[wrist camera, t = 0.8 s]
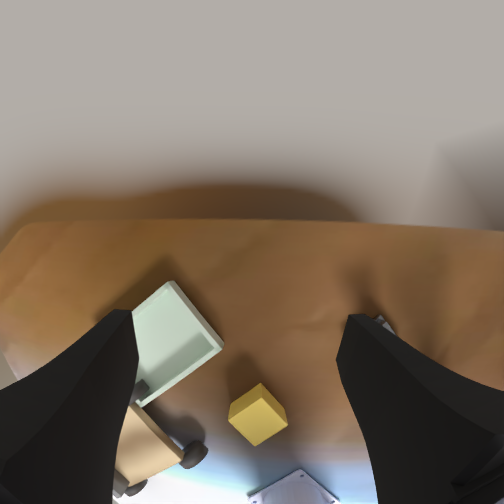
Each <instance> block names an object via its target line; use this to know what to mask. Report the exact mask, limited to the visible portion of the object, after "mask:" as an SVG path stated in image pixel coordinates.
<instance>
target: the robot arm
mask: <svg viewBox="0 0 504 504" xmlns="http://www.w3.org/2000/svg"><path fill="white" fill-rule="evenodd" d="M336 362H337V366H338V370H339V374H340V378H341V382H342V385H343V387H344V390H345V392H346V395H347V397H348V399H349V402H350V404H351V407H352V409H353V411H354V414H355V416H356V419H357V421H358V423H359V426H360V428H361V431H362V433H363V436H364V439H365V442H366V446H367V449H368V453H369V457H370V461H371V465H372V470H373V475H374V480H375V485H376V491H377V498H378V504H504V391H501V390H498V389H494V388H491V387H488V386H485V385H483V384H480V383H478V382H475V381H473V380H470V379H468V378H466V377H463V376H461V375H459V374H457V373H455V372H453V371H451V370H449V369H447V368H446V367H444V366H442V365H440V364H438V363H437V362H435V361H433V360H432V359H430V358H428V357H427V356H425V355H424V354H422V353H420V352H419V351H417V350H416V349H415V348H413V347H412V346H410V345H409V344H407V343H406V342H404V341H403V340H402V339H400V338H399V337H397V336H396V335H395V334H393V333H392V332H390V331H389V330H388V329H386V328H385V327H383V326H382V325H381V324H379V323H378V322H376V321H375V320H373V319H372V318H370V317H369V316H367V315H365V314H351V315H348V319H347V323H346V326H345V330H344V334H343V337H342V341H341V344H340V347H339V351H338V354H337V357H336ZM138 364H139V353H138V347H137V341H136V335H135V329H134V323H133V316H132V311H131V310H118V309H114V310H113V311H112V312H110V313H109V314H108V315H107V316H105V317H104V318H103V319H102V320H101V321H100V322H98V323H97V324H96V325H95V326H94V327H93V328H92V329H90V330H89V331H88V332H87V333H86V334H84V335H83V336H82V337H81V338H80V339H79V340H77V341H76V342H75V343H74V344H72V345H71V346H70V347H68V348H67V349H66V350H65V351H63V352H62V353H61V354H59V355H58V356H57V357H56V358H54V359H53V360H51V361H50V362H49V363H47V364H46V365H44V366H43V367H41V368H39V369H38V370H36V371H35V372H33V373H32V374H30V375H28V376H26V377H25V378H23V379H21V380H19V381H17V382H15V383H13V384H11V385H9V386H7V387H6V388H4V389H2V390H0V504H112V496H113V481H114V470H115V462H116V454H117V447H118V442H119V438H120V434H121V430H122V426H123V423H124V419H125V416H126V413H127V409H128V406H129V402H130V399H131V396H132V392H133V389H134V385H135V381H136V376H137V370H138ZM300 475H303V476H300ZM333 500H334V501H333ZM248 501H249V502H250V503H252V504H341V503H340V501H339V500H337V499H336V498H335V497H334V496H333V495H331V494H330V493H329V492H328V491H326V490H325V489H324V488H323V487H322V486H320V485H319V484H318V483H317V482H316V481H315V480H313V479H312V478H311V477H310V476H309V475H308V474H306V473H305V472H304V471H303V470H301V469H299V470H296V471H295V472H293V473H291V474H290V475H288V476H286V477H285V478H283V479H281V480H279V481H278V482H276V483H274V484H272V485H270V486H269V487H267V488H265V489H263V490H261V491H259V492H257V493H255V494H253V495H251V496H250V497H248Z"/></svg>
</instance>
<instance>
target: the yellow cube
mask: <svg viewBox="0 0 504 504" xmlns="http://www.w3.org/2000/svg"><path fill="white" fill-rule="evenodd" d="M228 421H229V422H230V423H231V424H232V425H233V426H234V427H235V428H236V429H237V430H238V431H239V432H240V433H241V434H242V435H243V436H244V437H245V438H246V439H247V440H248V441H249V442H250V443H251V444H253V445H254V446H257V445H258V444H260V443H261V442H263V441H265V440H266V439H268V438H269V437H271V436H272V435H274V434H275V433H277V432H278V431H280V430H281V429H283V428H284V427H286V426H287V425H288V423H287V419H286V414H285V410H284V408H283V407H282V405H281V404H280V403H279V402H278V401H277V400H276V399H275V398H274V397H273V396H272V395H271V394H270V392H269V391H268V390H267V389H266V388H265V387H264V386H263V385H262V384H261V383H259V384H258V385H257V386H255V387H254V388H252V389H251V390H250V391H248V392H247V393H245V394H244V395H243V396H241V397H240V398H238V399H237V400H235V401H234V402H232V403H231V404H230V410H229V416H228Z"/></svg>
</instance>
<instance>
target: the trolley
mask: <svg viewBox="0 0 504 504" xmlns="http://www.w3.org/2000/svg"><path fill="white" fill-rule="evenodd" d="M149 389H150V387H149V386H148V385H147V384H146V383H145V381H144V380H143V379H141V380H140V381H138V382H137V383H136V384H135V385H134V389H133V392H132V396H131V399H130V402H129V406H128V409H127V413H126V416H125V419H124V423H123V426H122V430H121V434H120V438H119V442H118V447H117V454H116V462H115V470H114V481H113V495H114V496H115V497H116V498H120V497H122V495H123V494H124V493H125V494H126V495H128V496H133V495H135V494H137V493H138V492H140V491H141V490H142V489H143V488H144V487H145V485H146V484H147V481H148V480H147V478H149V477H151V476H153V475H155V474H157V473H159V472H161V471H163V470H165V469H167V468H169V467H171V466H173V465H175V464H177V463H179V464H180V465H181V466H182V467H183V468H185V469H190V468H192V467H194V466H196V465H197V464H198V463H200V462H201V461H202V460H203V459H204V457H205V456H206V455H207V453H208V448H207V447H206V446H205V445H204V444H203V443H202V442H201V441H199V440H197V441H194V442H192V443H190V444H189V445H187V446H186V447H185V448H184V449H183V450H181V449H180V448H179V447H178V446H177V445H176V444H175V443H174V442H173V441H172V440H171V439H170V438H169V437H168V436H167V435H166V434H165V433H164V432H163V431H162V430H161V429H160V428H159V427H158V426H157V425H156V423H155V422H154V421H153V420H152V419H151V418H150V417H149V416H148V415H147V414H146V413H145V412H144V410H143V409H142V408H140V406H139V405H138V404H137V403H136V402H135V401H136V400H138V399H139V398H140V397H141V396H143V395H144V394H145V393H146V392H147V391H148V390H149Z"/></svg>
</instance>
